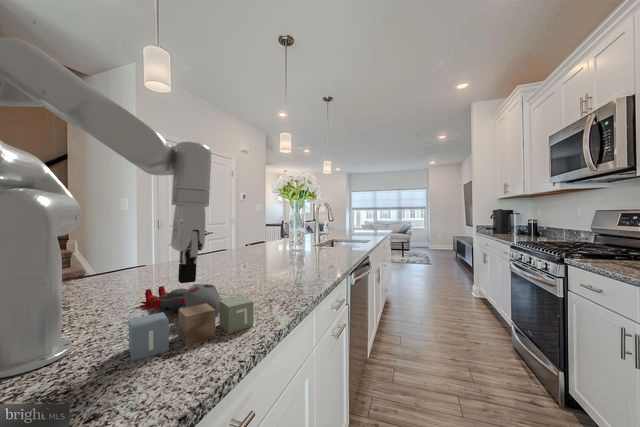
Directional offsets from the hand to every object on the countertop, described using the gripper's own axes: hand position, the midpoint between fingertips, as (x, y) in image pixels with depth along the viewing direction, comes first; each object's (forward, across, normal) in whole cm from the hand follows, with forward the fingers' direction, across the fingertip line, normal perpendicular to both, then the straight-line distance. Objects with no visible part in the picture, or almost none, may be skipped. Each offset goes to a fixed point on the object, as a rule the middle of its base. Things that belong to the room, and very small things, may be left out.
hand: (186, 281), depth 59 cm
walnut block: (+12, +2, +2) cm, 12 cm away
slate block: (+12, +2, -7) cm, 14 cm away
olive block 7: (+12, +2, +11) cm, 16 cm away
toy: (+13, -18, +3) cm, 22 cm away
